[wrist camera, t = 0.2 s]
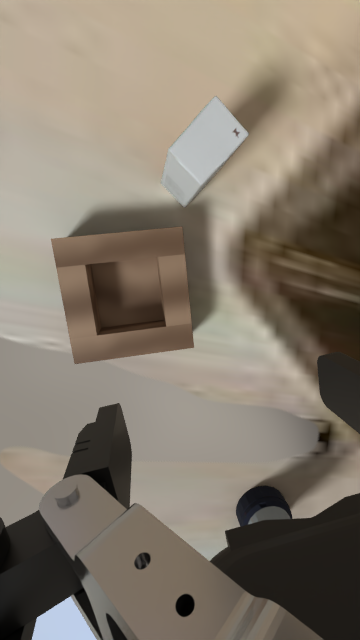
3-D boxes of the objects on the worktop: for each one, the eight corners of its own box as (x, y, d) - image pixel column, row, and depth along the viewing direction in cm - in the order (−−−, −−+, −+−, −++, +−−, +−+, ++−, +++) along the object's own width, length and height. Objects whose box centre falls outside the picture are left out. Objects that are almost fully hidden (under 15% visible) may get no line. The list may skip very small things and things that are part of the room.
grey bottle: (247, 537, 49) (352, 813, 25) (228, 500, 47) (321, 761, 23) (291, 514, 49) (439, 765, 25) (273, 477, 47) (415, 710, 23)
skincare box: (192, 145, 36) (217, 91, 24) (217, 173, 37) (252, 133, 25) (158, 183, 36) (166, 148, 25) (183, 209, 37) (202, 187, 26)
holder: (63, 241, 36) (50, 238, 31) (176, 230, 38) (182, 226, 33) (82, 350, 39) (74, 363, 34) (187, 336, 41) (193, 347, 36)
